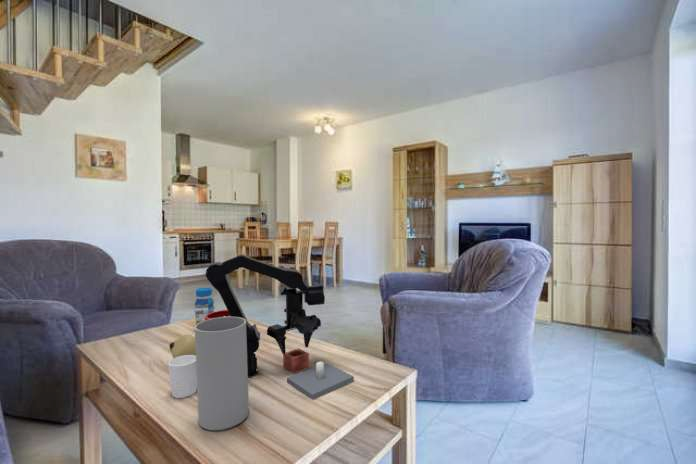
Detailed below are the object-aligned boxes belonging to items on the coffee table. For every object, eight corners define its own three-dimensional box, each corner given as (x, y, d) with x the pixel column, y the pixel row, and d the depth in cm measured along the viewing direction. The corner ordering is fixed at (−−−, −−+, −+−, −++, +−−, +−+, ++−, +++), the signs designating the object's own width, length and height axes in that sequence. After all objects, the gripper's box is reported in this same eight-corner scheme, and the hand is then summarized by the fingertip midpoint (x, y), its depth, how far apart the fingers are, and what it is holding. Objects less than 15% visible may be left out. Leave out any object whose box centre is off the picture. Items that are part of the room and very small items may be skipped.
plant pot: (226, 333, 155) (225, 307, 154) (244, 339, 147) (243, 312, 146) (199, 342, 144) (198, 314, 144) (217, 349, 136) (216, 319, 136)
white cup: (179, 402, 97) (178, 368, 97) (164, 395, 101) (162, 362, 101) (204, 390, 104) (202, 358, 104) (188, 383, 108) (187, 353, 108)
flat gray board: (312, 399, 97) (312, 379, 97) (286, 382, 108) (286, 363, 108) (353, 381, 108) (353, 362, 108) (326, 366, 118) (326, 350, 118)
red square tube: (293, 373, 114) (292, 358, 114) (283, 367, 119) (283, 353, 118) (309, 367, 118) (308, 353, 118) (298, 361, 123) (298, 348, 123)
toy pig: (190, 354, 131) (189, 327, 131) (208, 361, 125) (207, 333, 124) (164, 364, 123) (163, 335, 123) (183, 372, 116) (181, 341, 116)
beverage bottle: (218, 331, 158) (216, 288, 158) (200, 335, 152) (198, 291, 151) (210, 327, 164) (208, 286, 163) (192, 331, 158) (190, 289, 157)
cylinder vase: (198, 437, 81) (194, 335, 80) (198, 410, 93) (195, 320, 92) (252, 424, 86) (248, 327, 85) (245, 400, 98) (243, 314, 97)
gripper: (282, 316, 105) (284, 366, 106) (330, 305, 117) (330, 350, 118) (265, 309, 114) (266, 355, 114) (311, 300, 126) (312, 341, 127)
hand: (295, 350), depth 118 cm, fingers open, 9 cm apart
